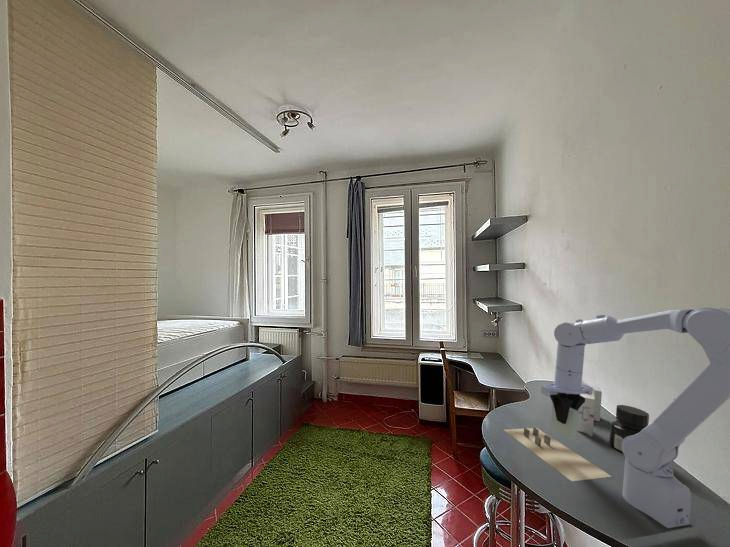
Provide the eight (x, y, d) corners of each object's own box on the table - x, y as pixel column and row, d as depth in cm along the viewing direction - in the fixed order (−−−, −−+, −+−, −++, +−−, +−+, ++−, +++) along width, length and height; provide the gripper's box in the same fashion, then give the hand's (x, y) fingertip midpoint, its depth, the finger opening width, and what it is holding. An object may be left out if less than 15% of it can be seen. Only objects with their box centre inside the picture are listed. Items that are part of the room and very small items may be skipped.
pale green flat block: (576, 439, 73) (578, 411, 73) (571, 439, 73) (574, 411, 73) (555, 427, 79) (557, 400, 79) (551, 427, 79) (553, 401, 79)
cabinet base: (611, 480, 70) (612, 476, 70) (571, 485, 67) (571, 481, 67) (536, 431, 91) (536, 427, 91) (503, 433, 88) (503, 429, 88)
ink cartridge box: (562, 421, 100) (566, 377, 100) (579, 423, 99) (582, 380, 99) (575, 434, 91) (579, 386, 91) (593, 437, 90) (597, 389, 90)
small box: (597, 416, 106) (600, 387, 106) (600, 422, 101) (602, 391, 101) (570, 409, 110) (573, 381, 110) (571, 414, 106) (574, 385, 106)
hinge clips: (550, 445, 82) (550, 437, 82) (539, 445, 81) (539, 438, 81) (534, 434, 87) (534, 427, 87) (523, 434, 86) (524, 428, 86)
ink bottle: (615, 456, 81) (618, 412, 81) (601, 440, 89) (604, 400, 89) (660, 466, 77) (664, 421, 77) (642, 449, 86) (645, 408, 86)
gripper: (576, 364, 82) (572, 413, 82) (533, 364, 78) (528, 415, 78) (602, 373, 75) (597, 426, 75) (556, 373, 71) (551, 429, 71)
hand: (564, 421), depth 76 cm, fingers closed on pale green flat block, 1 cm apart
